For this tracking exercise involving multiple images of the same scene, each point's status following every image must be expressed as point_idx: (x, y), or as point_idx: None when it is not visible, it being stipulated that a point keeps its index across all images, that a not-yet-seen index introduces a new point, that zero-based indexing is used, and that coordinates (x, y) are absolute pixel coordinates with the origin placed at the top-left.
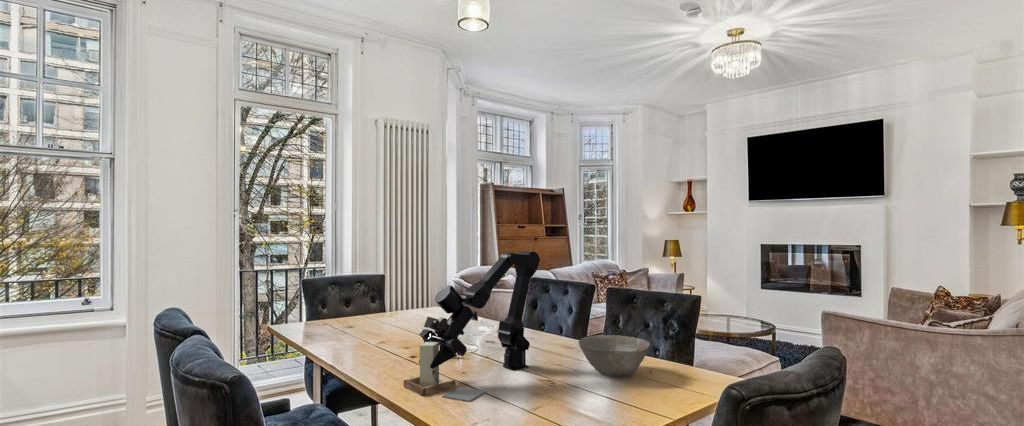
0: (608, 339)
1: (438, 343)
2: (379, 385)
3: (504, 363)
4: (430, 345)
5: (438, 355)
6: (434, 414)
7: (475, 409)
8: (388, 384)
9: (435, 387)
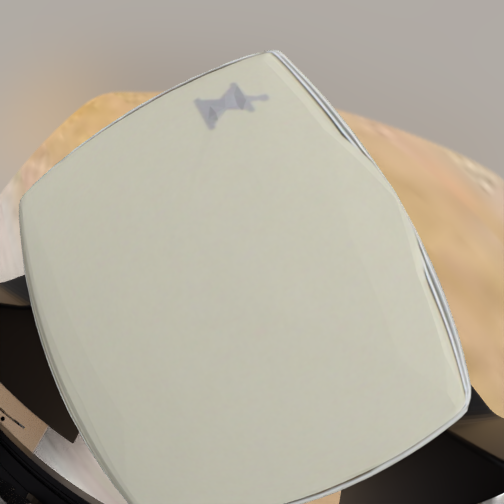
0: None
1: (136, 499)
2: (463, 184)
3: None
4: (52, 167)
5: None
6: (74, 126)
7: (13, 223)
8: (455, 213)
9: None
